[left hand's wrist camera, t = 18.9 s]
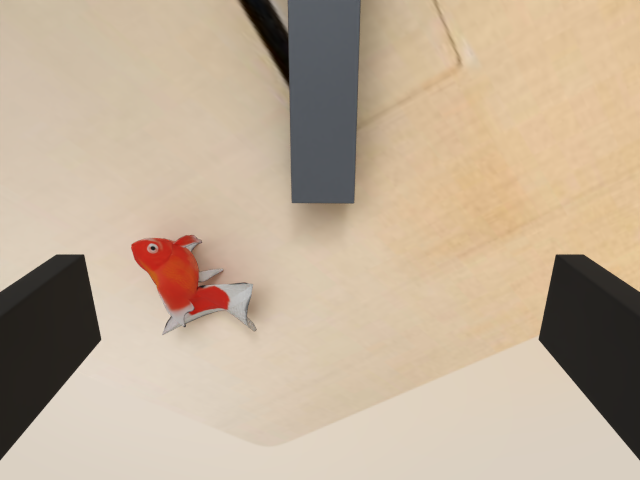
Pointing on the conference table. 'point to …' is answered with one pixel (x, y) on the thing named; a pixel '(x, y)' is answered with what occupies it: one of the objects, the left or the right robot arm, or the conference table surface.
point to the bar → (323, 98)
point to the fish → (188, 282)
